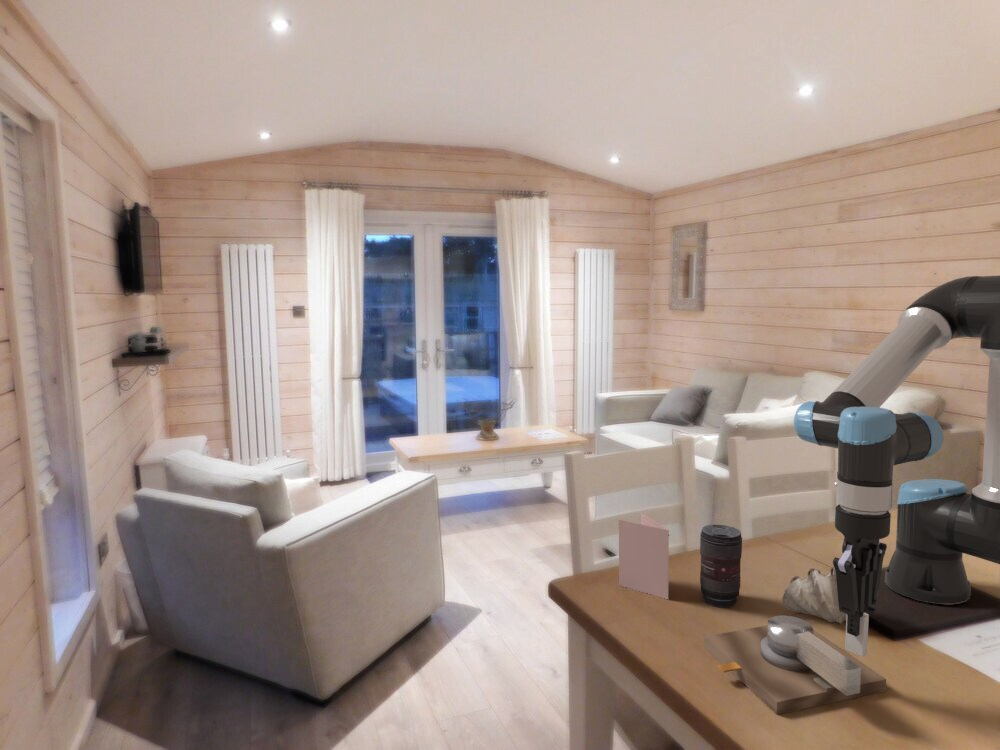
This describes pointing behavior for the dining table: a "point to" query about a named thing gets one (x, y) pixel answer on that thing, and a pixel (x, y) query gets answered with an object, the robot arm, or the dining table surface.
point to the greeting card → (644, 556)
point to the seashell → (815, 596)
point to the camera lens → (720, 564)
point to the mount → (782, 671)
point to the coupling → (813, 652)
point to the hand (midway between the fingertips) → (855, 651)
